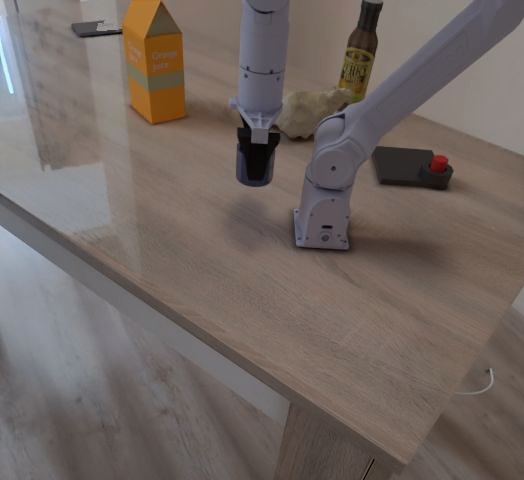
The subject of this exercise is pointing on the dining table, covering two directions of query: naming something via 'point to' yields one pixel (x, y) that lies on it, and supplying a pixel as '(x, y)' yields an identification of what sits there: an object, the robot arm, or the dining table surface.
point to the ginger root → (309, 110)
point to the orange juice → (154, 61)
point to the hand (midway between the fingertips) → (255, 168)
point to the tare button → (439, 163)
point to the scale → (408, 168)
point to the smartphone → (90, 28)
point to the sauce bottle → (360, 52)
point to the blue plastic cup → (242, 174)
